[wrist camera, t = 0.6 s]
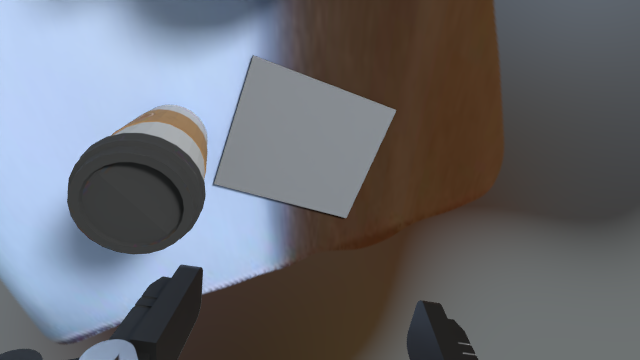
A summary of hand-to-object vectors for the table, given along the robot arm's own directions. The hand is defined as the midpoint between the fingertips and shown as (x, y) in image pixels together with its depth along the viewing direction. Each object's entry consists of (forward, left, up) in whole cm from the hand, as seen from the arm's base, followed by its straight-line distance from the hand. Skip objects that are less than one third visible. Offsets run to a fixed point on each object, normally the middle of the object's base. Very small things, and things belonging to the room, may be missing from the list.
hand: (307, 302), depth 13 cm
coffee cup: (-8, -5, -27) cm, 28 cm away
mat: (+5, -2, -27) cm, 27 cm away
